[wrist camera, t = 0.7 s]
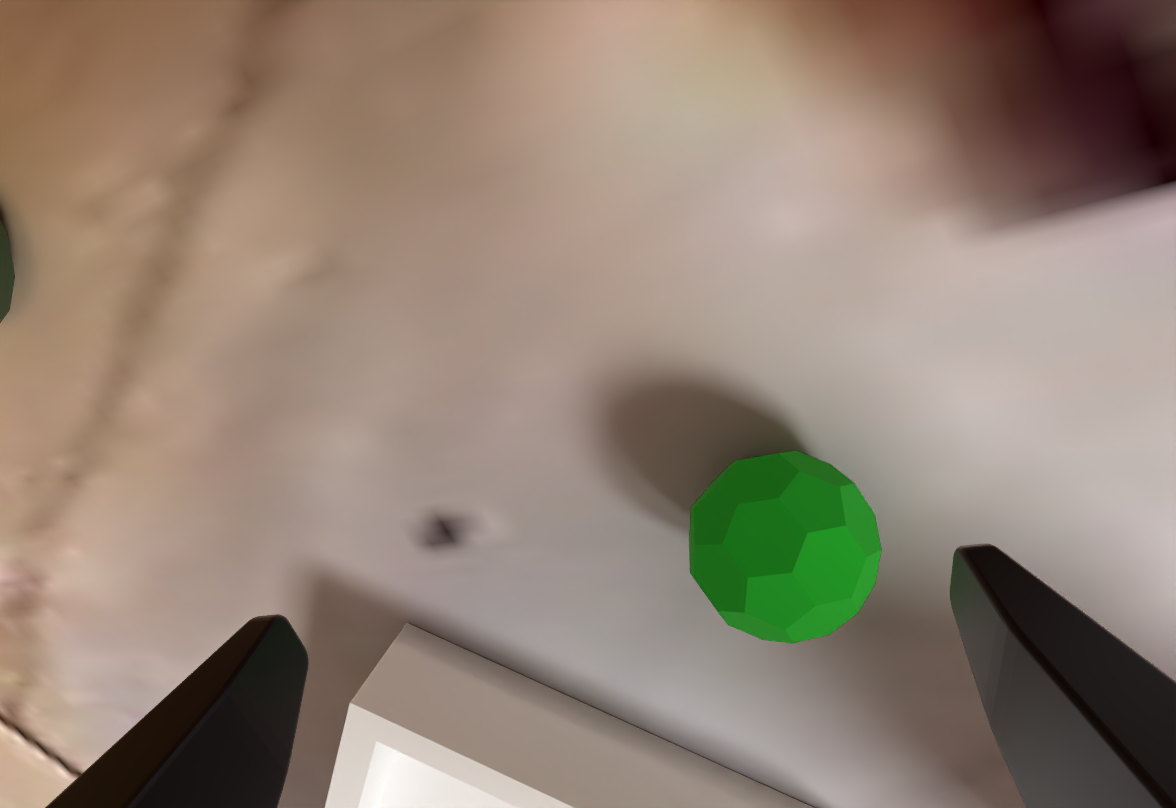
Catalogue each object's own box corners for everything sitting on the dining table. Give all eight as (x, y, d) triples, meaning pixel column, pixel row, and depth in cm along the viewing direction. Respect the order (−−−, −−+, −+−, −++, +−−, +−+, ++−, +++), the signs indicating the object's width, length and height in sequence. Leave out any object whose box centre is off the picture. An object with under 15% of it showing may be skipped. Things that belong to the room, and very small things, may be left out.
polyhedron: (904, 464, 21) (929, 565, 17) (826, 592, 23) (831, 709, 19) (733, 397, 21) (716, 478, 17) (674, 529, 24) (646, 630, 19)
